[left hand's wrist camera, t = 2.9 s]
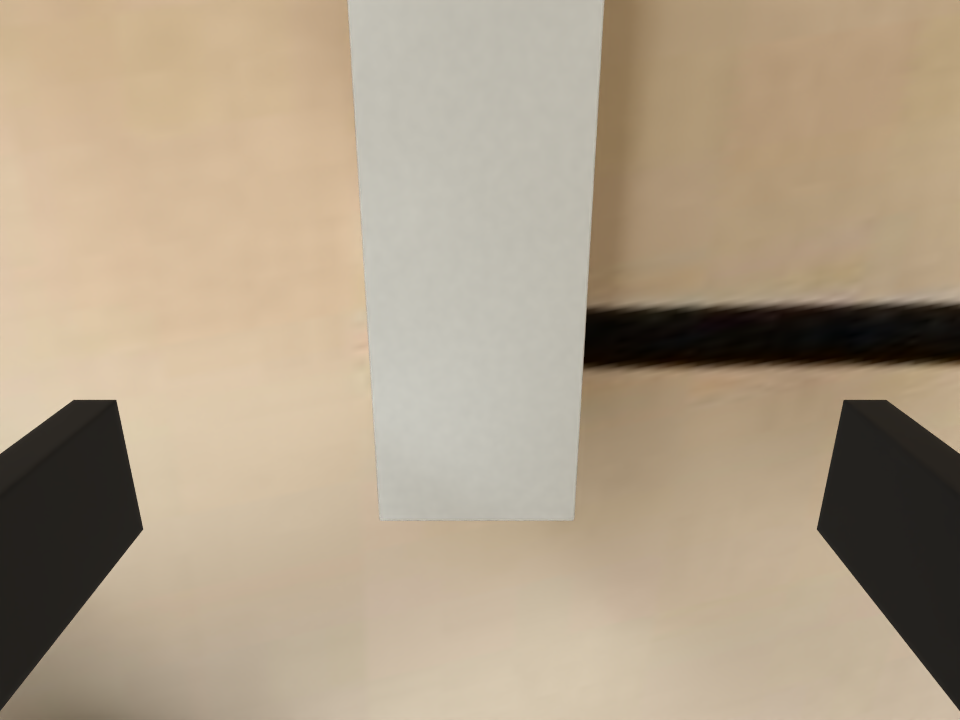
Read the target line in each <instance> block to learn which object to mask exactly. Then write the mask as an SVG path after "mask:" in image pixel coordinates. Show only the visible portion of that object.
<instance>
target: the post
mask: <svg viewBox="0 0 960 720" xmlns="http://www.w3.org/2000/svg"><path fill="white" fill-rule="evenodd" d="M347 2H348V19H349V35H350V51H351V67H352V83H353V99H354V116H355V132H356V148H357V164H358V180H359V196H360V213H361V229H362V245H363V261H364V277H365V293H366V310H367V326H368V342H369V358H370V374H371V390H372V407H373V423H374V439H375V455H376V471H377V487H378V504H379V519H380V520H381V521H573V520H574V516H575V499H576V482H577V464H578V447H579V430H580V413H581V395H582V378H583V361H584V344H585V327H586V309H587V292H588V275H589V258H590V240H591V223H592V206H593V189H594V171H595V154H596V137H597V120H598V102H599V85H600V68H601V51H602V33H603V16H604V0H347Z"/></svg>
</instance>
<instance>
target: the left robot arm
mask: <svg viewBox="0 0 960 720" xmlns="http://www.w3.org/2000/svg"><path fill="white" fill-rule="evenodd" d="M142 530H143V526H142V521H141V517H140V512H139V507H138V502H137V497H136V493H135V488H134V483H133V478H132V473H131V469H130V464H129V459H128V454H127V449H126V445H125V440H124V435H123V430H122V425H121V421H120V416H119V411H118V406H117V401H116V400H73V401H72V402H70V403H69V404H68V405H66V406H65V407H64V408H62V409H61V410H59V411H58V412H57V413H55V414H54V415H53V416H51V417H50V418H49V419H47V420H46V421H45V422H43V423H42V424H40V425H39V426H38V427H36V428H35V429H34V430H32V431H31V432H30V433H28V434H27V435H25V436H24V437H23V438H21V439H20V440H19V441H17V442H16V443H15V444H13V445H12V446H10V447H9V448H8V449H6V450H5V451H4V452H2V453H1V454H0V711H1V709H2V708H3V707H4V705H5V704H6V703H7V702H8V700H9V699H10V698H11V697H12V695H13V694H14V693H15V691H16V690H17V689H18V688H19V686H20V685H21V684H22V683H23V681H24V680H25V679H26V677H27V676H28V675H29V674H30V672H31V671H32V670H33V669H34V667H35V666H36V665H37V664H38V662H39V661H40V660H41V658H42V657H43V656H44V655H45V653H46V652H47V651H48V650H49V648H50V647H51V646H52V644H53V643H54V642H55V641H56V639H57V638H58V637H59V636H60V634H61V633H62V632H63V630H64V629H65V628H66V627H67V625H68V624H69V623H70V622H71V620H72V619H73V618H74V617H75V615H76V614H77V613H78V611H79V610H80V609H81V608H82V606H83V605H84V604H85V603H86V601H87V600H88V599H89V597H90V596H91V595H92V594H93V592H94V591H95V590H96V589H97V587H98V586H99V585H100V583H101V582H102V581H103V580H104V578H105V577H106V576H107V575H108V573H109V572H110V571H111V570H112V568H113V567H114V566H115V564H116V563H117V562H118V561H119V559H120V558H121V557H122V556H123V554H124V553H125V552H126V550H127V549H128V548H129V547H130V545H131V544H132V543H133V542H134V540H135V539H136V538H137V536H138V535H139V534H140V533H141V531H142ZM817 530H818V531H819V533H820V534H821V535H822V536H823V538H824V539H825V540H826V542H827V543H828V544H829V545H830V547H831V548H832V549H833V550H834V552H835V553H836V554H837V556H838V557H839V558H840V559H841V561H842V562H843V563H844V564H845V566H846V567H847V568H848V570H849V571H850V572H851V573H852V575H853V576H854V577H855V578H856V580H857V581H858V582H859V583H860V585H861V586H862V587H863V589H864V590H865V591H866V592H867V594H868V595H869V596H870V597H871V599H872V600H873V601H874V603H875V604H876V605H877V606H878V608H879V609H880V610H881V611H882V613H883V614H884V615H885V617H886V618H887V619H888V620H889V622H890V623H891V624H892V625H893V627H894V628H895V629H896V630H897V632H898V633H899V634H900V636H901V637H902V638H903V639H904V641H905V642H906V643H907V644H908V646H909V647H910V648H911V650H912V651H913V652H914V653H915V655H916V656H917V657H918V658H919V660H920V661H921V662H922V664H923V665H924V666H925V667H926V669H927V670H928V671H929V672H930V674H931V675H932V676H933V677H934V679H935V680H936V681H937V683H938V684H939V685H940V686H941V688H942V689H943V690H944V691H945V693H946V694H947V695H948V697H949V698H950V699H951V700H952V702H953V703H954V704H955V705H956V707H957V708H958V709H959V711H960V454H959V453H958V452H956V451H955V450H954V449H952V448H951V447H950V446H948V445H947V444H945V443H944V442H943V441H941V440H940V439H939V438H937V437H936V436H935V435H933V434H932V433H930V432H929V431H928V430H926V429H925V428H924V427H922V426H921V425H920V424H918V423H917V422H915V421H914V420H913V419H911V418H910V417H909V416H907V415H906V414H905V413H903V412H902V411H901V410H899V409H898V408H896V407H895V406H894V405H892V404H891V403H890V402H888V401H887V400H844V401H843V406H842V411H841V416H840V421H839V425H838V430H837V435H836V440H835V445H834V449H833V454H832V459H831V464H830V469H829V473H828V478H827V483H826V488H825V493H824V497H823V502H822V507H821V512H820V517H819V521H818V526H817Z"/></svg>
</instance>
